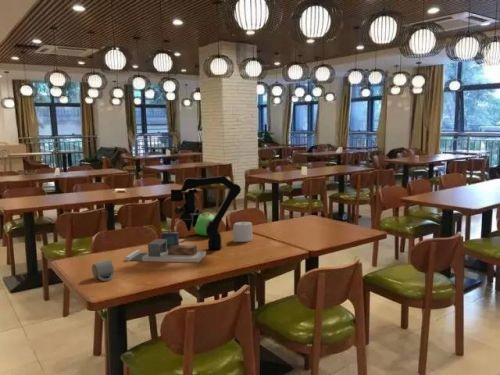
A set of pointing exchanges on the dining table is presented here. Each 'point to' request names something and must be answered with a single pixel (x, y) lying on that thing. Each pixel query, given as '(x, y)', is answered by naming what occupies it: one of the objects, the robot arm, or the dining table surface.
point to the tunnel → (157, 247)
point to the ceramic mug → (103, 270)
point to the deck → (165, 257)
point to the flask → (171, 238)
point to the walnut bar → (182, 250)
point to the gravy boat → (203, 223)
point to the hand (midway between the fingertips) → (191, 229)
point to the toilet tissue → (242, 232)
